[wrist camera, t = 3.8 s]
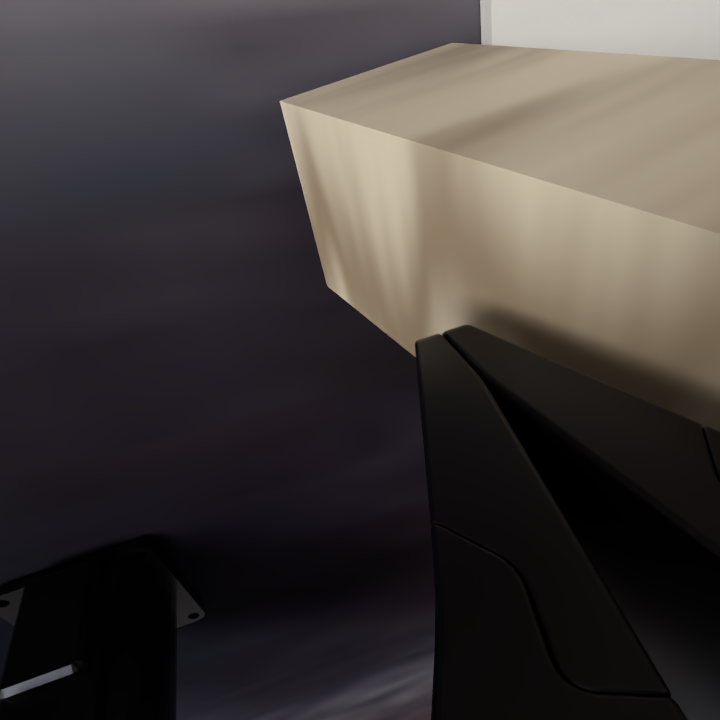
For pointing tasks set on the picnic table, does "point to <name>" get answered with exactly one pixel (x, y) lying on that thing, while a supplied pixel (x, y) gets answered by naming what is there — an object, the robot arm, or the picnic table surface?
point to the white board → (606, 26)
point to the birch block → (529, 207)
